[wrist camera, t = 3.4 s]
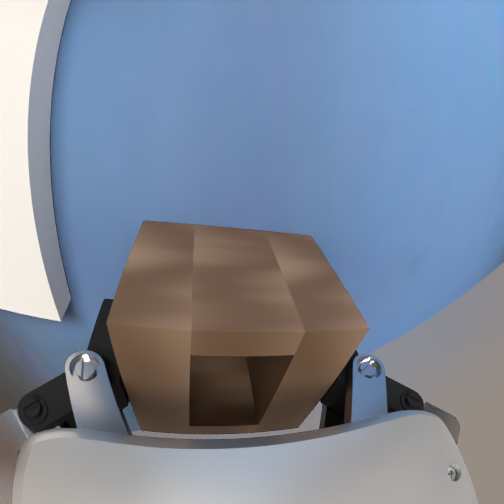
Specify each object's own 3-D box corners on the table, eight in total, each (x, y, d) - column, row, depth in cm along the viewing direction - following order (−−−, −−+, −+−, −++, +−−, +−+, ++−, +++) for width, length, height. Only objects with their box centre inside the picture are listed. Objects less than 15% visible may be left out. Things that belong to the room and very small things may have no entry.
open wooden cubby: (311, 236, 11) (369, 327, 7) (274, 343, 14) (297, 427, 10) (143, 220, 9) (106, 322, 5) (149, 338, 13) (141, 430, 8)
